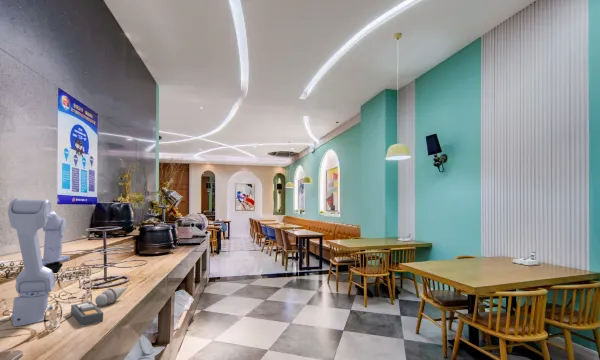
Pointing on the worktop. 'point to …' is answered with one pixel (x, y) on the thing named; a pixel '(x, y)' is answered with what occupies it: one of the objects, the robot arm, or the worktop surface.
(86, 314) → the amber key
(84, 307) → the grey key
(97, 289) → the worktop surface
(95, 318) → the grey compartment tray
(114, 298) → the ice cream cone
